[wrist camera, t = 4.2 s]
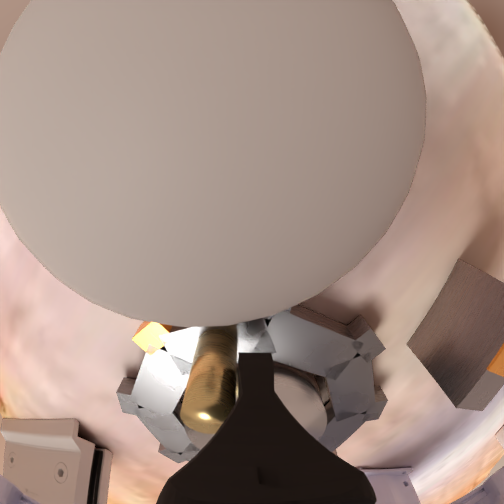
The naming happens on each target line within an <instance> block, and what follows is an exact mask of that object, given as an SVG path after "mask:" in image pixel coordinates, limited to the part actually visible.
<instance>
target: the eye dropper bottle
mask: <svg viewBox="0 0 504 504" xmlns="http://www.w3.org/2000/svg"><path fill="white" fill-rule="evenodd" d="M495 437H496V439H497V440H498V442H499V443H500V445H501V446H502V447H503V449H504V426H503V427H502V428H501V429H500V430H499V431H498V432H497V433H496V435H495Z"/></svg>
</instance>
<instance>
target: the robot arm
mask: <svg viewBox="0 0 504 504" xmlns="http://www.w3.org/2000/svg"><path fill="white" fill-rule="evenodd" d="M412 471H413V468H398V469H369V470H363V469H357V468H355V467H354V466H352V465H350V464H349V463H347V462H345V461H344V460H342V459H341V458H339V457H338V456H336V455H335V454H334V453H332V452H331V451H330V450H328V449H327V448H326V447H325V446H323V445H322V444H321V443H320V442H319V441H318V440H316V439H315V438H314V437H313V436H312V435H311V434H310V433H308V432H307V431H306V430H305V428H304V427H303V426H302V425H301V424H300V423H299V422H298V421H297V420H296V419H295V418H294V417H293V415H292V414H291V413H290V412H289V411H288V409H287V408H286V407H285V405H284V404H283V402H282V401H281V400H280V398H279V397H278V395H277V394H276V392H275V391H274V362H273V358H272V355H271V353H244V352H239V358H238V399H237V401H236V403H235V405H234V407H233V408H232V410H231V412H230V413H229V415H228V416H227V418H226V419H225V421H224V422H223V424H222V425H221V427H220V428H219V429H218V431H217V432H216V433H215V435H214V436H213V437H212V438H211V439H210V441H209V442H208V443H207V444H206V445H205V446H204V447H203V448H202V449H201V450H200V451H199V452H198V453H197V454H196V456H195V457H194V458H193V459H191V460H190V461H189V462H188V463H187V464H186V465H185V466H184V467H182V468H181V469H180V470H179V471H177V472H176V473H175V474H174V475H173V476H171V477H170V478H169V479H168V481H167V482H166V484H165V486H164V487H163V489H162V491H161V493H160V495H159V498H158V500H157V503H156V504H421V503H420V501H419V499H418V496H417V494H416V492H415V489H414V487H413V485H412V482H411V480H410V478H409V476H408V474H410V473H411V472H412ZM0 504H41V503H39V502H38V501H36V500H34V499H32V498H30V497H29V496H27V495H25V494H24V493H22V491H21V490H20V489H19V488H18V487H16V486H15V485H14V484H13V483H12V482H10V481H9V480H8V479H6V478H5V477H3V476H2V475H0ZM451 504H504V466H503V467H502V468H501V469H499V470H498V471H496V472H495V473H494V474H493V475H492V476H490V477H489V478H488V479H487V480H486V481H485V482H484V483H483V485H481V486H480V487H478V488H476V489H475V490H473V491H472V492H470V493H468V494H467V495H465V496H463V497H461V498H460V499H458V500H456V501H454V502H452V503H451Z"/></svg>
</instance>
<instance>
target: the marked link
mask: <svg viewBox="0 0 504 504" xmlns="http://www.w3.org/2000/svg"><path fill="white" fill-rule="evenodd" d="M407 346H408V347H409V348H410V349H411V350H412V352H413V353H414V354H415V355H416V357H417V358H418V359H419V360H420V362H421V363H422V364H423V365H424V367H425V368H426V369H427V370H428V372H429V373H430V374H431V375H432V377H433V378H434V379H435V380H436V382H437V383H438V384H439V386H440V387H441V388H442V390H443V391H444V392H445V394H446V395H447V396H448V397H449V399H450V400H451V401H452V403H453V404H454V406H455V407H456V408H461V409H469V410H479V411H483V410H484V408H485V407H486V406H487V405H488V404H489V402H490V401H491V400H492V399H493V397H494V396H495V395H496V394H497V392H498V391H499V390H500V388H501V387H502V386H503V384H504V283H503V282H501V281H499V280H498V279H496V278H494V277H492V276H491V275H489V274H487V273H485V272H483V271H481V270H480V269H478V268H476V267H474V266H472V265H470V264H468V263H466V262H464V261H462V260H460V259H459V258H458V260H457V262H456V264H455V266H454V268H453V270H452V272H451V274H450V276H449V278H448V279H447V281H446V283H445V285H444V287H443V288H442V290H441V292H440V293H439V295H438V297H437V299H436V300H435V302H434V304H433V305H432V307H431V308H430V310H429V312H428V313H427V315H426V316H425V318H424V319H423V321H422V322H421V324H420V325H419V327H418V328H417V330H416V331H415V333H414V334H413V336H412V337H411V339H410V340H409V341H408V343H407Z"/></svg>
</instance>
